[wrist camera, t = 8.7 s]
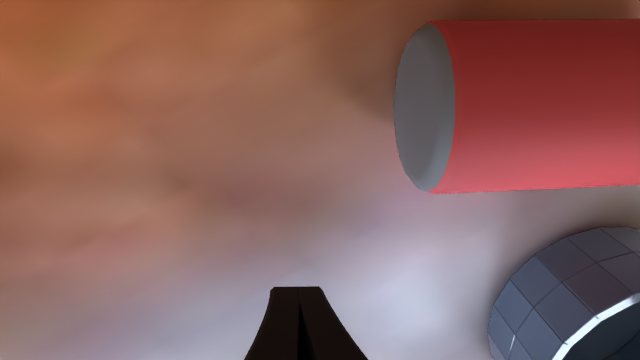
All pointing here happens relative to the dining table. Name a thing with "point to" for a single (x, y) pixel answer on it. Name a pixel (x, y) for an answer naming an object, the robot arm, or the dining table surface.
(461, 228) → the dining table surface
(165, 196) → the dining table surface
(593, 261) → the bowl
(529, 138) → the beer can
